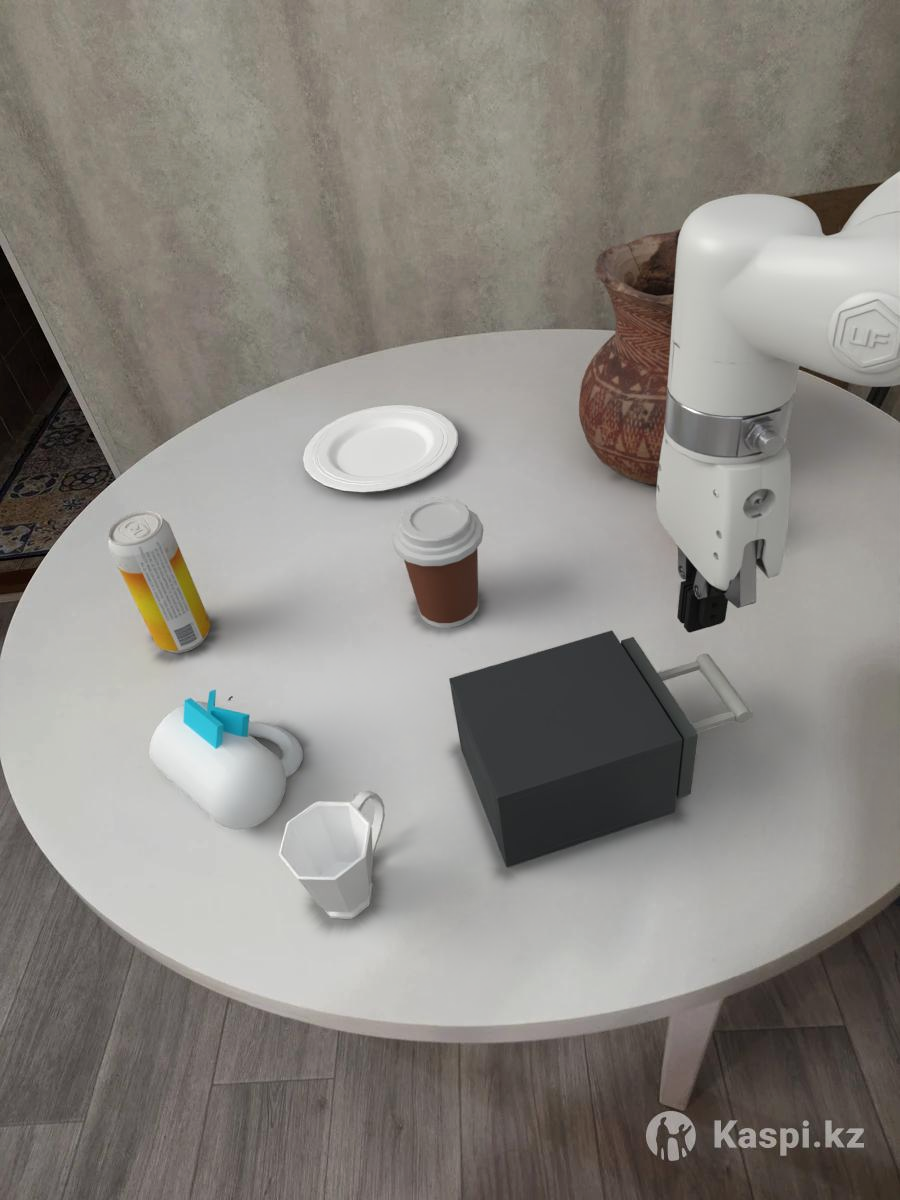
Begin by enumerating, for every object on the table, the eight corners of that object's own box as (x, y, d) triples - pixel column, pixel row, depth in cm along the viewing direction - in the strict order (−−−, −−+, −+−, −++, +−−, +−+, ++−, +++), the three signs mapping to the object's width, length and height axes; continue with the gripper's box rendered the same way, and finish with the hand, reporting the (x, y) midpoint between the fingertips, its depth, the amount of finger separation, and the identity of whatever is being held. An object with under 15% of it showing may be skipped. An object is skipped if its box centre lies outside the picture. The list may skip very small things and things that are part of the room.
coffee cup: (501, 583, 94) (492, 493, 86) (477, 642, 88) (465, 551, 80) (422, 574, 97) (407, 486, 89) (394, 630, 91) (374, 541, 83)
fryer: (611, 703, 80) (612, 629, 74) (675, 812, 71) (682, 739, 64) (461, 749, 78) (448, 678, 72) (506, 868, 69) (497, 798, 62)
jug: (759, 509, 98) (792, 296, 82) (573, 507, 103) (569, 304, 86) (746, 408, 114) (771, 213, 97) (585, 410, 118) (583, 223, 102)
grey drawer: (693, 677, 80) (699, 616, 75) (759, 771, 72) (772, 710, 66) (491, 739, 77) (484, 680, 72) (536, 845, 69) (531, 787, 64)
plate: (446, 503, 106) (444, 490, 105) (286, 503, 110) (282, 490, 109) (470, 414, 121) (468, 402, 120) (328, 417, 125) (325, 405, 124)
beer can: (196, 609, 97) (150, 500, 87) (222, 635, 93) (177, 525, 83) (147, 636, 94) (94, 528, 84) (171, 665, 91) (118, 555, 80)
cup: (285, 915, 68) (258, 860, 63) (352, 814, 74) (333, 757, 69) (360, 951, 65) (338, 897, 60) (423, 843, 71) (409, 786, 66)
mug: (235, 766, 67) (150, 696, 73) (228, 857, 70) (148, 783, 77) (347, 718, 75) (262, 659, 82) (336, 802, 79) (256, 739, 86)
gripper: (853, 458, 49) (800, 675, 62) (720, 349, 60) (697, 551, 72) (734, 490, 48) (704, 704, 61) (620, 373, 59) (614, 575, 71)
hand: (700, 621), depth 67 cm, fingers closed
